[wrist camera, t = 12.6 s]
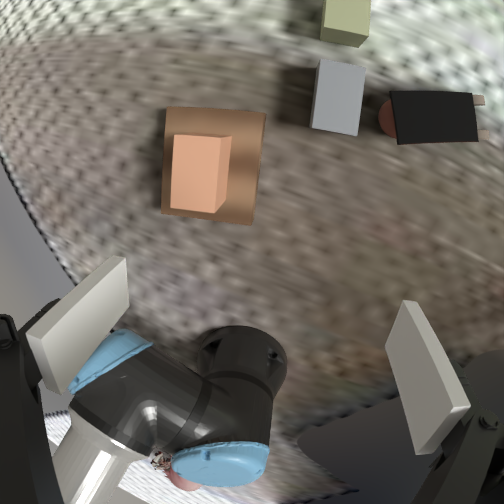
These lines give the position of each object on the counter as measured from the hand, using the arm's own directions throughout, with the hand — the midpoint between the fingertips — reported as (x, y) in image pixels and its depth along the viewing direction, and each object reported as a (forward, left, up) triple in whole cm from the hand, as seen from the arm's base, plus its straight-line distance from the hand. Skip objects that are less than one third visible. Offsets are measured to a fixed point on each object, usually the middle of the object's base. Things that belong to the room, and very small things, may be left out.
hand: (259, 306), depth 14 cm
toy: (-70, +14, -29) cm, 77 cm away
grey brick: (+12, -5, -29) cm, 32 cm away
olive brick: (+24, -5, -29) cm, 38 cm away
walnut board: (+2, +9, -29) cm, 30 cm away
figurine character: (+13, -18, -29) cm, 37 cm away
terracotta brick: (+2, +9, -26) cm, 27 cm away
